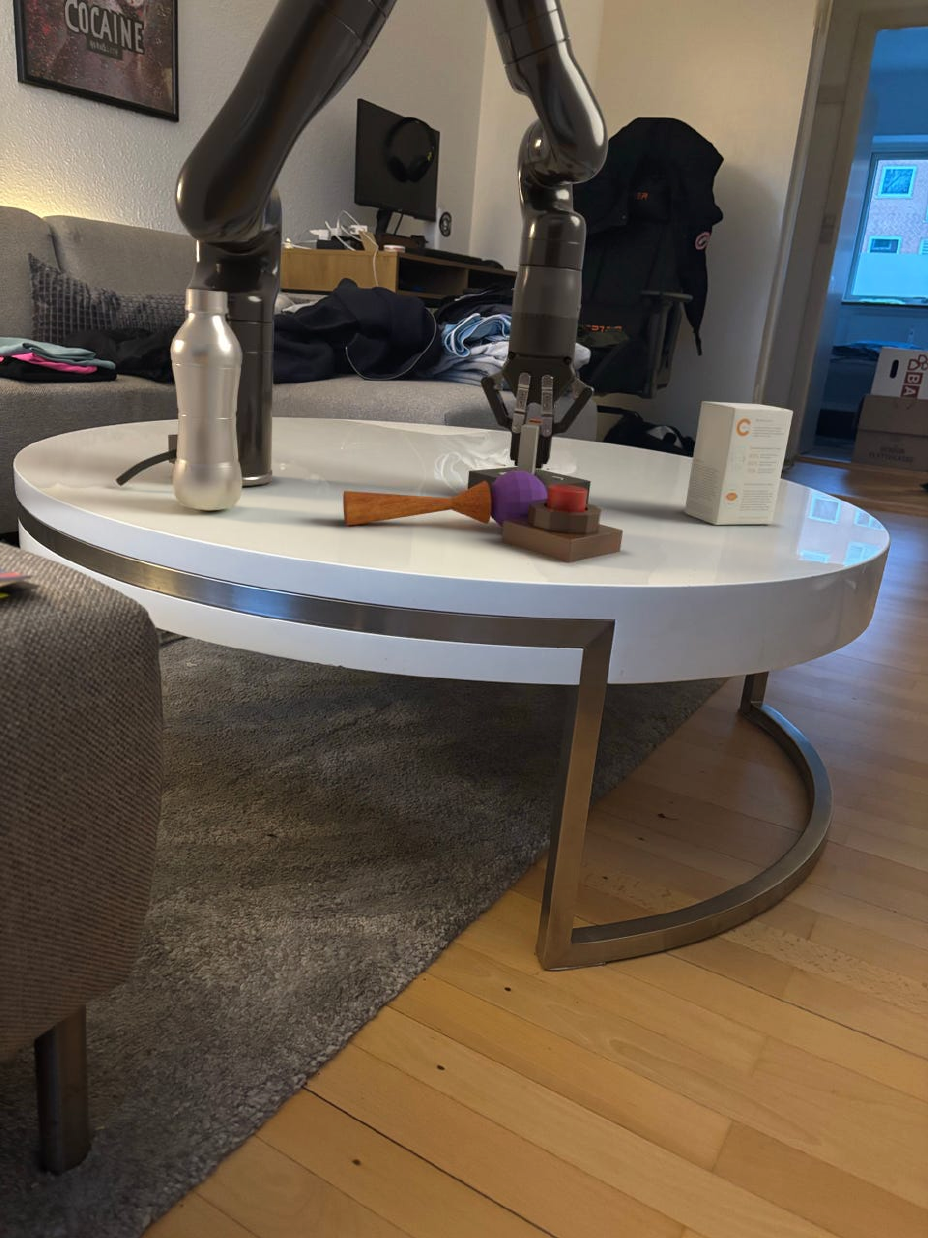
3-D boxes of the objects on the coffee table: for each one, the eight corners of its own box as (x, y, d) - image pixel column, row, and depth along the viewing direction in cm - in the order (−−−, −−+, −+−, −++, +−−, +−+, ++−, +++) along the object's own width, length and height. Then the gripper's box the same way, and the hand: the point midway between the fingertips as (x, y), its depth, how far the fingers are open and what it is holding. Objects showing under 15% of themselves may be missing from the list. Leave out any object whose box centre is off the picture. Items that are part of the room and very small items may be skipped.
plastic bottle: (251, 505, 92) (253, 294, 85) (228, 520, 85) (229, 292, 79) (188, 499, 92) (186, 288, 85) (161, 512, 86) (156, 286, 79)
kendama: (340, 476, 89) (536, 469, 93) (343, 538, 90) (537, 528, 94) (347, 476, 83) (555, 469, 88) (350, 542, 84) (556, 531, 89)
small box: (738, 513, 111) (758, 403, 106) (772, 525, 105) (795, 410, 101) (682, 512, 108) (700, 399, 103) (714, 525, 102) (735, 406, 98)
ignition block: (568, 564, 81) (573, 519, 79) (500, 543, 86) (505, 501, 84) (620, 552, 86) (626, 511, 85) (553, 534, 91) (558, 494, 90)
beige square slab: (531, 475, 105) (537, 425, 103) (516, 474, 105) (521, 423, 103) (538, 468, 110) (544, 420, 108) (524, 466, 111) (529, 418, 109)
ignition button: (568, 515, 82) (571, 493, 82) (538, 507, 85) (540, 485, 84) (592, 512, 85) (595, 490, 84) (562, 504, 87) (564, 483, 87)
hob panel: (532, 514, 99) (535, 485, 98) (453, 493, 107) (455, 466, 106) (598, 504, 108) (601, 478, 107) (520, 485, 115) (523, 460, 114)
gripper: (478, 305, 100) (465, 464, 105) (605, 316, 97) (584, 478, 103) (491, 307, 107) (477, 455, 112) (609, 317, 104) (589, 469, 110)
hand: (529, 465), depth 108 cm, fingers closed on beige square slab, 2 cm apart
